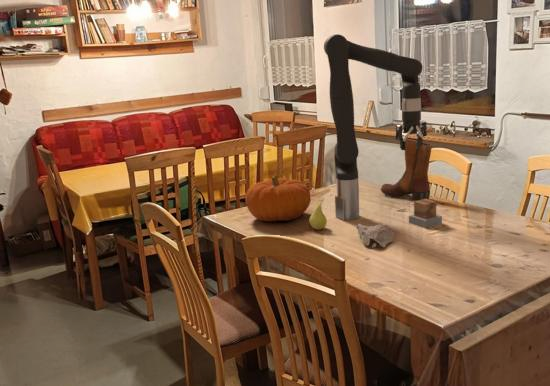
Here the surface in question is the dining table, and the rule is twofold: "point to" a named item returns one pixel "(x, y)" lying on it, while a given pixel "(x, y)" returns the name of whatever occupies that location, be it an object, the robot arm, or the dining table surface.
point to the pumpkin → (278, 199)
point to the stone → (375, 234)
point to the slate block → (425, 221)
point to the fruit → (318, 218)
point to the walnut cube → (425, 208)
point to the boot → (412, 174)
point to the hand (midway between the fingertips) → (411, 148)
